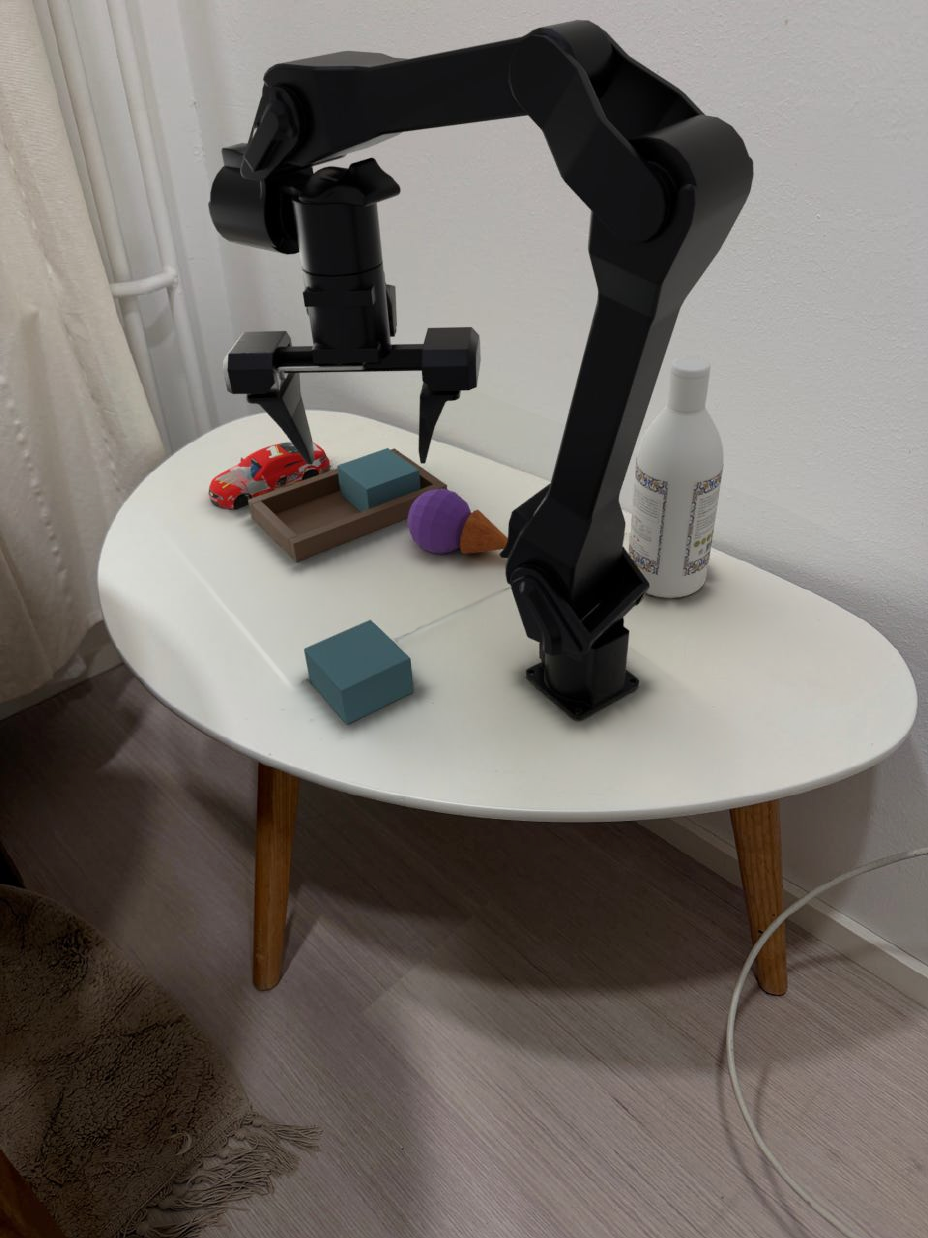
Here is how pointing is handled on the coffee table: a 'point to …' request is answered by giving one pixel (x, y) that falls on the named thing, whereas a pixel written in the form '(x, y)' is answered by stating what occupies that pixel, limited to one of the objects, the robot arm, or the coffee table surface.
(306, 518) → the frame
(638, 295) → the robot arm
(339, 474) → the teal square block
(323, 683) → the loose pad
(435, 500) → the purple ice cream cone
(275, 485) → the race car
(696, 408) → the bath foam
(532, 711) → the coffee table surface
